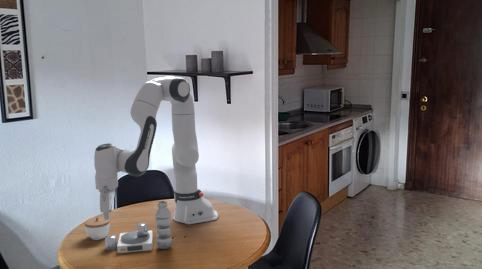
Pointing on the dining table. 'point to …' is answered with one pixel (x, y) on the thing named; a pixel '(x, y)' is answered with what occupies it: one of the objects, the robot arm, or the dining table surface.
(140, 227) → the silver ball
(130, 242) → the kitchen scale
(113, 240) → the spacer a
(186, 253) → the dining table surface
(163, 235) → the plastic bottle
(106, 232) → the lidded jar
